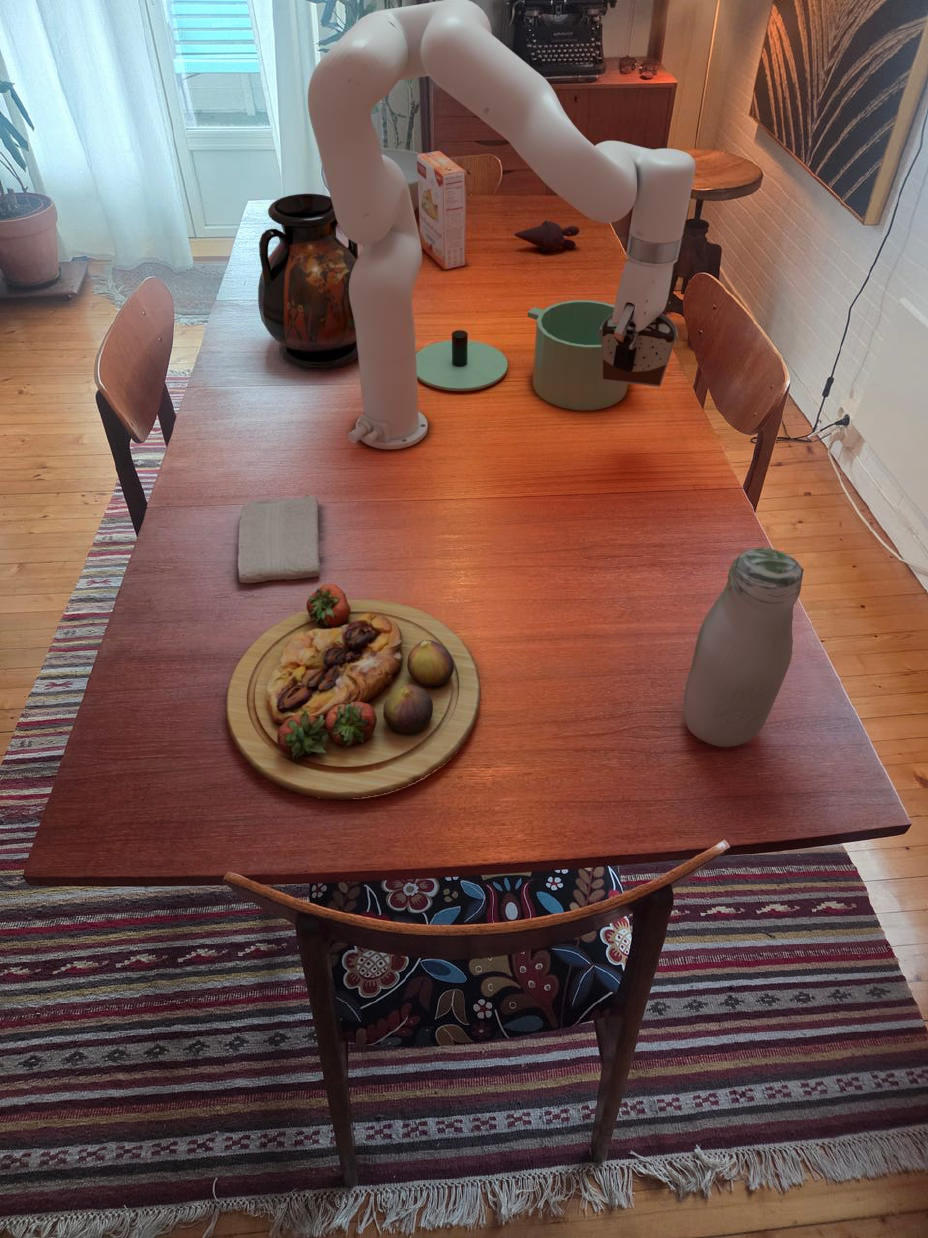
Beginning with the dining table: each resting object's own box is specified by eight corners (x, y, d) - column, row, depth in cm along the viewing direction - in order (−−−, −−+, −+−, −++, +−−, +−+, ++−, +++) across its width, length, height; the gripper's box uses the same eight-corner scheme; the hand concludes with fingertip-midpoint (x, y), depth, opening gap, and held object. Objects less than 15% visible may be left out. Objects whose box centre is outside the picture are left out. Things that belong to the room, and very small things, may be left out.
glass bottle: (744, 696, 112) (806, 526, 92) (766, 762, 105) (838, 593, 85) (667, 698, 112) (713, 527, 92) (684, 764, 105) (737, 595, 85)
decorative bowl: (339, 243, 210) (334, 190, 202) (321, 202, 228) (316, 152, 220) (447, 232, 215) (447, 180, 207) (422, 192, 233) (420, 143, 225)
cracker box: (418, 247, 209) (415, 152, 194) (441, 243, 211) (440, 149, 196) (442, 271, 200) (441, 173, 185) (466, 266, 202) (467, 169, 187)
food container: (672, 364, 143) (682, 309, 135) (669, 387, 140) (680, 333, 132) (596, 356, 145) (602, 302, 137) (592, 379, 141) (598, 325, 134)
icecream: (518, 231, 200) (582, 235, 202) (515, 210, 204) (579, 214, 206) (513, 257, 206) (576, 261, 208) (511, 236, 210) (572, 240, 211)
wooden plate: (242, 614, 122) (231, 570, 116) (470, 604, 124) (471, 560, 118) (212, 813, 100) (196, 771, 94) (491, 797, 101) (493, 754, 96)
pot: (612, 425, 156) (622, 361, 147) (503, 387, 165) (505, 324, 156) (655, 382, 166) (666, 320, 157) (550, 348, 175) (555, 287, 166)
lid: (473, 404, 161) (473, 368, 155) (392, 374, 168) (390, 339, 163) (525, 362, 171) (527, 327, 166) (447, 336, 178) (447, 302, 173)
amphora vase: (343, 316, 184) (329, 174, 164) (397, 359, 172) (389, 211, 152) (248, 344, 176) (222, 198, 156) (297, 392, 163) (275, 240, 143)
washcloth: (319, 504, 140) (317, 488, 137) (323, 580, 127) (321, 564, 125) (243, 511, 138) (239, 495, 136) (240, 589, 126) (236, 573, 124)
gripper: (655, 220, 133) (636, 331, 146) (602, 259, 123) (586, 374, 136) (701, 233, 130) (677, 344, 143) (651, 274, 120) (629, 390, 133)
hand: (633, 358), depth 139 cm, fingers closed on food container, 6 cm apart
